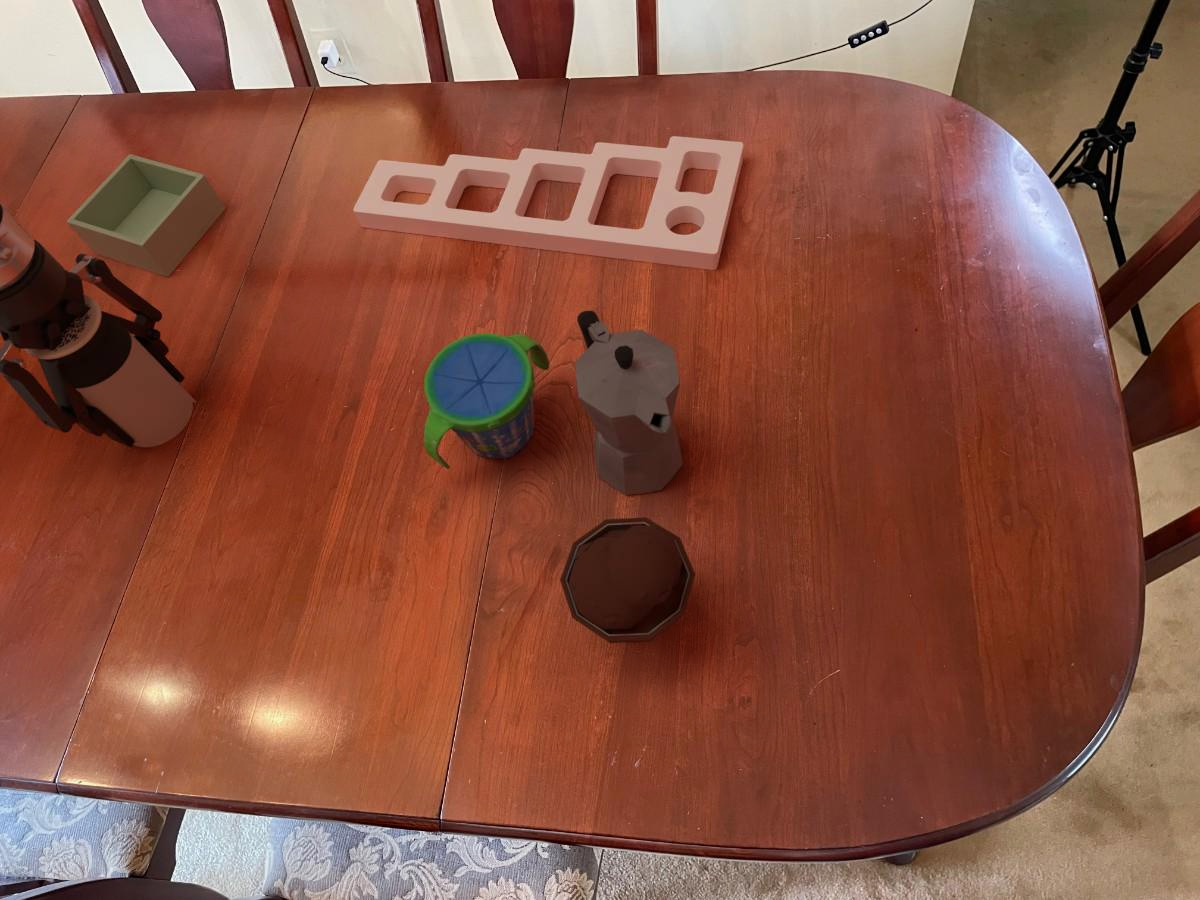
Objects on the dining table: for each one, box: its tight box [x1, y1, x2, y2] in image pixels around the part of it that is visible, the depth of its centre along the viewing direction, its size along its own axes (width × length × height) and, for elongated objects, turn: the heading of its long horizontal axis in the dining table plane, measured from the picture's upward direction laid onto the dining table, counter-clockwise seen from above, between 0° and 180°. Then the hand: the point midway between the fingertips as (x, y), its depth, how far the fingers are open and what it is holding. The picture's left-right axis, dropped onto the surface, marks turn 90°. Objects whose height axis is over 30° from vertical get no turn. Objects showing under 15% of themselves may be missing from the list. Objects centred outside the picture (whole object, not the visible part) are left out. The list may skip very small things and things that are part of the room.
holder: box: [352, 135, 744, 271], centre depth 104 cm, size 45×18×3 cm, turn 76°
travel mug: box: [23, 294, 197, 448], centre depth 86 cm, size 8×8×18 cm
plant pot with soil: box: [559, 517, 696, 644], centre depth 71 cm, size 11×11×15 cm
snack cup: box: [423, 332, 550, 470], centre depth 85 cm, size 16×10×10 cm
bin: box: [66, 153, 227, 278], centre depth 107 cm, size 12×12×6 cm
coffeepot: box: [574, 310, 684, 496], centre depth 79 cm, size 15×9×18 cm, turn 28°
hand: (148, 408), depth 91 cm, fingers closed on travel mug, 8 cm apart
